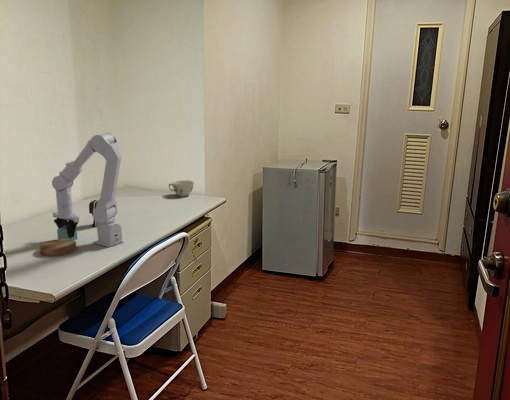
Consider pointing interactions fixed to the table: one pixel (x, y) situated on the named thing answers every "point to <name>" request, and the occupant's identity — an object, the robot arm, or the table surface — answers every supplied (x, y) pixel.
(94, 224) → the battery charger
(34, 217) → the table surface
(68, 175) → the robot arm
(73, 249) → the stand
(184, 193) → the teacup
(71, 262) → the table surface
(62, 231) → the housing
